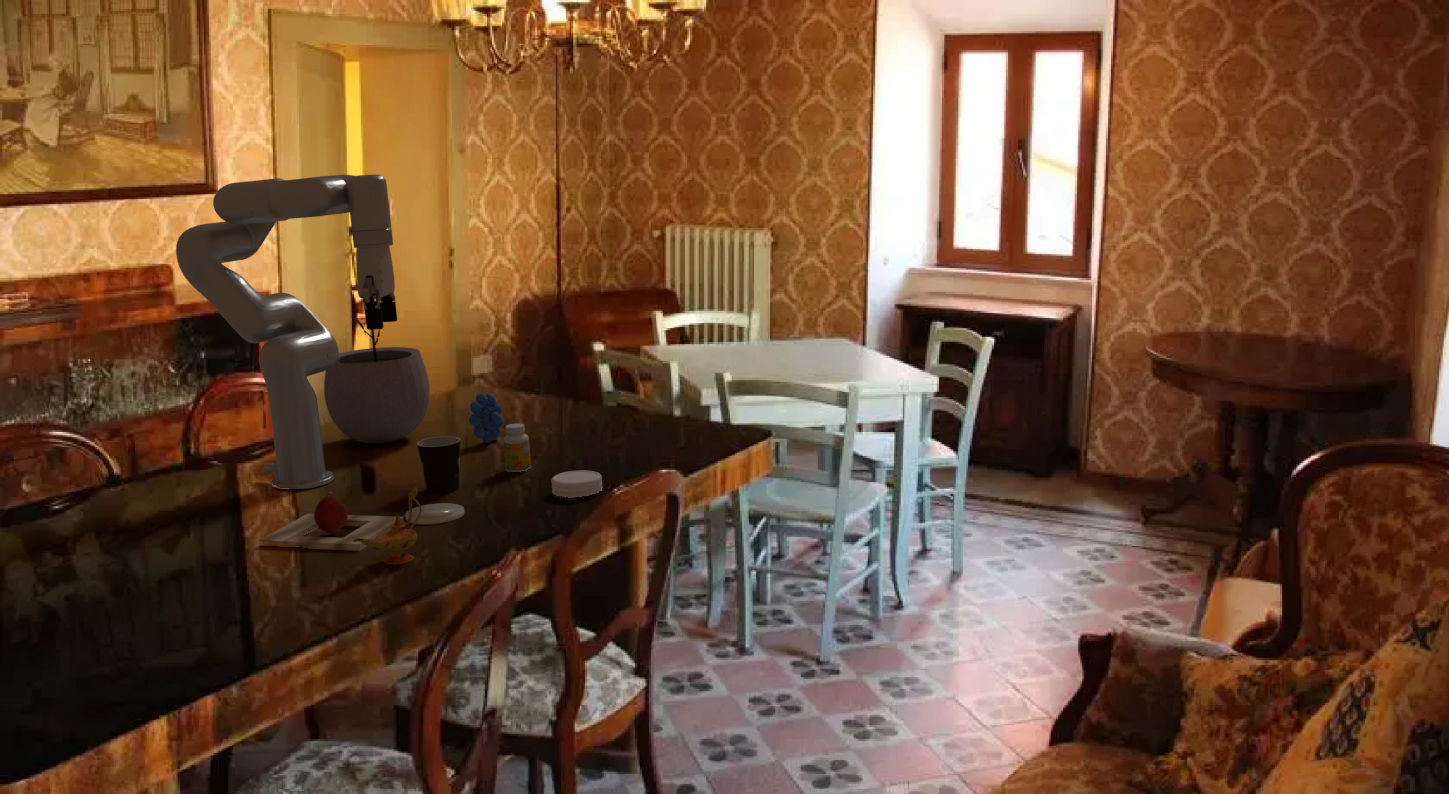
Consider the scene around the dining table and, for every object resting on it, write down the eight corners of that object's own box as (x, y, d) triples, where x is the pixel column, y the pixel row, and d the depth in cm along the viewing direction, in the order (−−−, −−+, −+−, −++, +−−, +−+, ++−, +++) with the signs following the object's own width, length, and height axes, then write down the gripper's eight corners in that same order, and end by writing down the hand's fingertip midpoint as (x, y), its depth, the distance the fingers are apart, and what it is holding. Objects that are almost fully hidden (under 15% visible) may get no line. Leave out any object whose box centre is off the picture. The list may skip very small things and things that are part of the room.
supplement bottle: (500, 472, 279) (497, 427, 277) (514, 465, 284) (510, 422, 281) (522, 474, 277) (519, 429, 275) (535, 467, 282) (532, 423, 279)
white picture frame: (259, 546, 236) (259, 540, 236) (308, 519, 251) (307, 513, 251) (360, 550, 231) (359, 544, 231) (403, 523, 246) (402, 516, 246)
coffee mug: (454, 495, 263) (450, 446, 261) (414, 494, 265) (409, 446, 263) (476, 479, 274) (472, 432, 272) (438, 478, 276) (433, 432, 274)
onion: (320, 541, 237) (315, 499, 235) (313, 533, 242) (309, 491, 240) (352, 535, 240) (348, 493, 238) (345, 527, 245) (341, 486, 243)
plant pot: (450, 429, 321) (439, 307, 314) (406, 454, 298) (393, 323, 291) (361, 428, 326) (348, 308, 320) (310, 453, 303) (295, 324, 297)
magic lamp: (341, 578, 217) (334, 514, 215) (408, 544, 233) (403, 484, 231) (374, 582, 214) (368, 517, 212) (440, 547, 230) (435, 487, 228)
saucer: (394, 523, 246) (394, 518, 246) (422, 506, 256) (421, 501, 256) (448, 525, 243) (448, 520, 243) (474, 508, 253) (473, 503, 253)
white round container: (613, 491, 261) (612, 474, 261) (575, 503, 254) (573, 486, 254) (580, 483, 268) (578, 467, 267) (542, 495, 261) (540, 478, 260)
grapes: (488, 450, 298) (484, 398, 296) (464, 448, 301) (460, 397, 299) (518, 438, 309) (514, 388, 306) (494, 436, 311) (490, 386, 309)
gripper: (366, 236, 266) (376, 319, 269) (339, 243, 249) (350, 333, 252) (403, 234, 265) (412, 318, 269) (379, 241, 248) (388, 331, 252)
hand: (382, 325), depth 260 cm, fingers open, 9 cm apart
